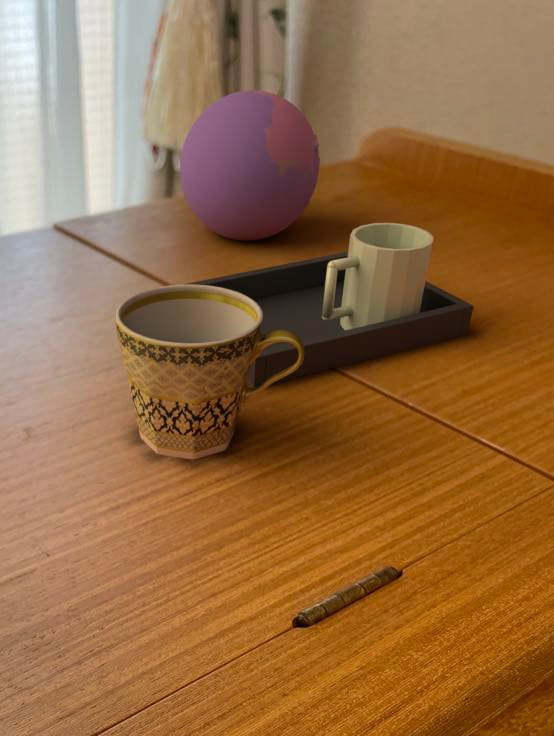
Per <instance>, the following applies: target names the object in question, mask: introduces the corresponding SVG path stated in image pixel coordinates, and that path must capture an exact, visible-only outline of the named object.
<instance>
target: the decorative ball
mask: <svg viewBox="0 0 554 736" xmlns="http://www.w3.org/2000/svg"><path fill="white" fill-rule="evenodd" d="M319 146H320V144H319V141H318V136H317V135H316V134H315V132H314V130H313V128H312V125H311V124H310V123H309V121H308V120H307V118H306V116H305V115H304V114H303V112H302V111H300V109H299V108H298V107H297V106H295V105H294V104H293V103H292V102H291V101H289V100H288V99H286V98H284V97H282V96H280V95H278V94H276V93H273V92H269V91H266V90H265V91H264V90H258V89H257V90H256V89H249V90H240V91H236V92H234V93H229V94H227V95H225V96H222V97H221V98H219V99H217V100H215V101H213V103H212V104H210V105H209V106H207V108H205V109H204V110H203V111H202V112H201V114H200V115H199V116H198V117H197V118H196V119H195V120H194V122H193V124H192V125H191V127H190V129H189V131H188V132H187V134H186V137H185V140H184V142H183V146H182V149H181V155H180V162H179V176H180V184H181V188H182V192H183V195H184V198H185V201H186V203H187V204H188V206H189V208H190V210H191V211H192V213H193V214H194V216H195V217H196V218H197V219H198V221H200V222H201V224H203V225H204V226H205V227H206V228H207V229H209V230H210V231H212V232H213V233H215V234H217V235H219V236H220V237H223V238H227V239H229V240H234V241H241V242H251V241H252V242H253V241H254V242H255V241H259V240H260V241H261V240H264V239H268V238H270V237H272V236H275V235H277V234H279V233H281V232H282V231H284V230H285V229H287V228H289V227H290V226H291V225H292V224H293V223H294V222H295V221H296V220H297V219H298V218H299V217H300V216H301V215H302V214H303V213H304V212H305V210H306V208H307V207H309V205H310V203H311V200H312V197H313V195H314V193H315V190H316V187H317V183H318V179H319V173H320V165H321V157H320V151H319Z"/></svg>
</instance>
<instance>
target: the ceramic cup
mask: <svg viewBox="0 0 554 736" xmlns="http://www.w3.org/2000/svg"><path fill="white" fill-rule="evenodd" d="M185 284H186V285H182V284H171V285H164V286H158V287H152V288H149V289H146V290H143V291H140V292H139V291H138V292H137V293H135V294H133V295H131V296H129V297H128V298H126V299H125V300H123V301H122V302H121V303H120V304H119V305H118V306H117V308H116V310H115V315H114V319H115V327H116V335H117V340H118V344H119V349H120V355H121V358H122V363H123V366H124V370H125V373H126V376H127V380H128V381H127V382H128V386H129V391H130V396H131V399H132V400H131V401H132V405H133V409H134V413H135V418H136V424H137V428H138V431H139V432H138V433H139V437H140V438H141V440H142V441H143V442H144V443H145V444H146V445H147V446H148V447H149V448H150V449H151V450H153V451H154V452H155V454H157V455H161V456H167V457H174V458H180V459H187V460H198V459H201V458H203V457H207V456H210V455H214V454H217V453H221V452H223V451H226V450H227V449H228V447H229V445H230V442H231V440H232V438H233V435H234V433H235V429H236V424H237V422H238V421H237V420H238V417H239V413H240V411H241V409H242V408H243V407H245V406H246V404H247V403H248V402H249V401H250V400H251V399H252V398H253V397H254V396H256V395H258V394H260V393H262V392H263V391H265V390H266V389H267V388H268V387H269V386H270V385H272V384H274V383H276V382H275V381H277V380H279V379H281V378H283V377H285V376H287V375H289V374H291V373H292V372H294V371H295V370H296V369H297V368H298V367H299V366H300V365H301V363H302V362H303V360H304V355H305V351H304V346H303V344H302V341H301V340H300V338H299V337H298V336H297V335H296V334H294V333H292V332H289V331H286V330H275V331H271V332H269V333H267V334H265V335H262V334H261V332H260V330H261V326H262V322H263V318H264V316H263V311H262V309H261V307H260V306H259V305H258V304H257V303H256V302H255V301H254V300H252V299H251V298H249V297H248V296H246V295H243V294H241V293H239V292H236V291H233V290H229V289H225V288H221V287H215V286H208V285H193V284H187V283H185ZM276 342H289V343H292V344H293V345H295V346H296V347H297V349H298V352H299V357H298V360H297V361H296V362H295V363H294V364H293V365H292V366H290V367H288V368H287V369H285V370H283V371H281V372H279V373H277V374H275V375H273V376H271V377H270V378H268V379H267V380H266V381H265V382H263V383H262V384H261V385H260V386H258V387H252V388H251V387H249V385H248V384H247V378H248V375H249V372H250V368H251V364H252V363H253V362H254V361H255V359H256V358H257V357H258V356H259V355H260V354H261V352H262V350H263V349H265V348H266V347H267V346H269V345H271V344H274V343H276ZM273 382H274V383H273Z"/></svg>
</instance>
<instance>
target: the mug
mask: <svg viewBox="0 0 554 736" xmlns="http://www.w3.org/2000/svg"><path fill="white" fill-rule="evenodd" d="M434 240H435V237H434V236H433V235H432V234H431V233H430V231H428V230H425V229H423V228H421V227H419V226H415V225H414V226H413V225H409V224H405V223H397V222H396V223H395V222H373V223H368V224H363V225H360V226H357V227H356V228H353V229H352V231H351V233H350V235H349V242H348V249H347V250H348V251H347V252H348V257H347V258H343V259H338V260H333V261H330V262H329V263H328V265H327V273H326V282H325V291H324V300H323V308H322V319H323V320H324V321H330V320H334V319H339V318H340V324H341V326H342V328H343V329H344V330H349V329H353V328H358V327H362V326H366V325H370V324H375V323H379V322H383V321H387V320H392V319H396V318H400V317H404V316H409V315H413V314H417V313H420V309H421V304H422V299H423V293H424V288H425V283H426V281H427V276H428V271H429V266H430V261H431V255H432V250H433V246H434V245H433V244H434ZM344 269H346V273H345V281H344V289H343V297H342V305H341V307H340V308H335V309H333V305H334V297H335V289H336V281H337V273H338V271H339V270H344Z"/></svg>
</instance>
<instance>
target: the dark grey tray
mask: <svg viewBox="0 0 554 736" xmlns="http://www.w3.org/2000/svg"><path fill="white" fill-rule="evenodd" d="M347 257H348V251H344V252H339V253H338V252H337V253H334V254H333V253H332V254H328V255H324V256H319V257H313V258H308V259H303V260H298V261H294V262H288V263H283V264H278V265H273V266H268V267H262V268H258V269H254V270H253V269H252V270H249V271H242V272H238V273H233V274H228V275H223V276H218V277H214V278H213V277H212V278H207V279H202V280H198V281H193V282H188V283H183V284H181V285H186V284H193V285H208V286H215V287H221V288H225V289H229V290H233V291H236V292H239V293H241V294H243V295H246V296H248V297H249V298H251V299H252V300H254V301H255V302H256V303H257V304H258V305H259V306H260V307H261V309H262V311H263V316H264V318H263V322H262V326H261V330H260V332H261V334H262V335H265V334H267V333H269V332H271V331H275V330H286V331H289V332H292V333H294V334H296V335H297V336H298V337H299V338H300V340H301V341H302V344H303V346H304V351H305V355H304V360H303V362H302V363H301V365H300V366H299V367H298V368H297V369H296V370H295V371H294V372H292V373H291V374H289V375H287V376H285V377H283V378H281V379H279V380H277V381H275V382H273V383H272V384H274V383H277V382H281V381H286V380H289V379H293V378H297V377H301V376H305V375H309V374H313V373H318V372H320V371H325V370H330V369H333V368H337V367H341V366H345V365H349V364H353V363H357V362H361V361H364V360H369V359H372V358H377V357H381V356H384V355H385V356H386V355H389V354H393V353H397V352H402V351H405V350H408V349H412V348H417V347H421V346H425V345H429V344H433V343H437V342H441V341H445V340H449V339H453V338H456V337H461V336H465V335H468V333H469V329H470V324H471V320H472V316H473V312H474V307H475V306H474V305H473V304H471V303H469V302H467V301H465V300H464V299H462V298H459V297H458V296H455V295H454V294H452V293H450V292H448V291H446V290H445V289H442V288H440V287H438V286H437V285H435V284H433V283H431V282H428V281H427V280H426V283H425V288H424V293H423V299H422V304H421V309H420V313H417V314H413V315H409V316H404V317H400V318H396V319H392V320H387V321H383V322H379V323H375V324H370V325H366V326H362V327H358V328H353V329H349V330H344V329H343V328H342V326H341V324H340V318H339V319H334V320H330V321H324V320H323V319H322V308H323V300H324V291H325V282H326V273H327V265H328V263H329V262H330V261H333V260H338V259H343V258H347ZM345 273H346V269H344V270H339V271H338V273H337V281H336V289H335V297H334V305H333V309H335V308H340V307H341V305H342V297H343V289H344V281H345ZM298 357H299V352H298V349H297V347H296V346H295V345H293V344H292V343H289V342H276V343H274V344H271V345H269V346H267V347H266V348H265V349H263V350H262V352H261V354H260V355H259V356H258V357H257V358H256V359H255V361H254V362H253V363H252V364H251V368H250V372H249V375H248V378H247V381H246V383H248V384H249V385H250V386H251V387H252V388H256V387H258V386H260V385H261V384H262V383H263V382H265V381H266V380H267V379H268V378H270V377H271V376H273V375H275V374H277V373H279V372H281V371H283V370H285V369H287V368H288V367H290V366H292V365H293V364H294V363H295V362H296V361H297V360H298Z"/></svg>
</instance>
